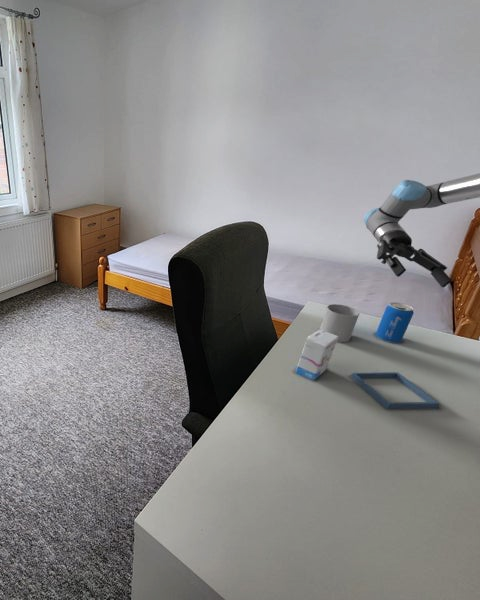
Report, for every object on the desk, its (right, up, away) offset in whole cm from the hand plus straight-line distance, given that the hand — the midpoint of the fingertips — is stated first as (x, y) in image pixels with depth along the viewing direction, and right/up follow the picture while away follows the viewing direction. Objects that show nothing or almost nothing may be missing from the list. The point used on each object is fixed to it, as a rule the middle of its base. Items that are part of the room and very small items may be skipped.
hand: (424, 278), depth 102 cm
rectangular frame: (-24, -31, -15) cm, 41 cm away
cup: (-19, -19, +11) cm, 29 cm away
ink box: (-39, -27, -6) cm, 48 cm away
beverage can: (-3, -20, +8) cm, 22 cm away
